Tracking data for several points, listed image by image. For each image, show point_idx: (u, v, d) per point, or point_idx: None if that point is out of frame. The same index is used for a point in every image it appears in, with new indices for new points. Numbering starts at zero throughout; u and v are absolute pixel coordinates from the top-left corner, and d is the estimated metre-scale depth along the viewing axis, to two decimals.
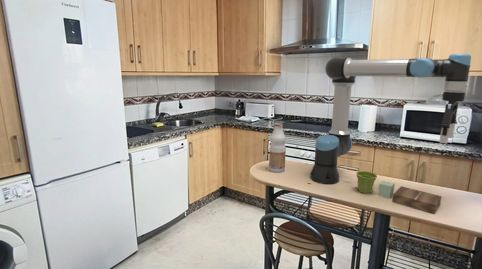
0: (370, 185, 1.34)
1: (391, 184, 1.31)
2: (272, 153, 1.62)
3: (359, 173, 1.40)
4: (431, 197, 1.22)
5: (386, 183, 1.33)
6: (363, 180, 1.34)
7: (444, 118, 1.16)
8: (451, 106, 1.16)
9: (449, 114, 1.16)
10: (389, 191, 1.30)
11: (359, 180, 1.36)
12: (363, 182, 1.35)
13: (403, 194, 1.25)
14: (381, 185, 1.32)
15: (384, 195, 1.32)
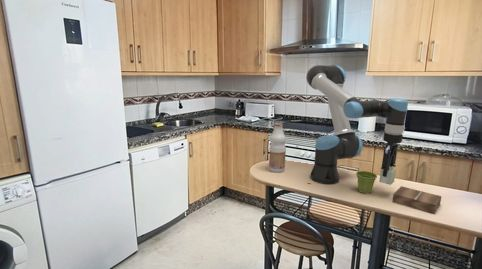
0: (370, 185, 1.34)
1: (392, 170, 1.30)
2: (272, 153, 1.62)
3: (359, 173, 1.40)
4: (431, 197, 1.22)
5: None
6: (363, 180, 1.34)
7: (383, 162, 1.26)
8: (388, 151, 1.24)
9: (387, 158, 1.25)
10: (390, 177, 1.29)
11: (359, 180, 1.36)
12: (363, 182, 1.35)
13: (403, 194, 1.25)
14: None
15: None
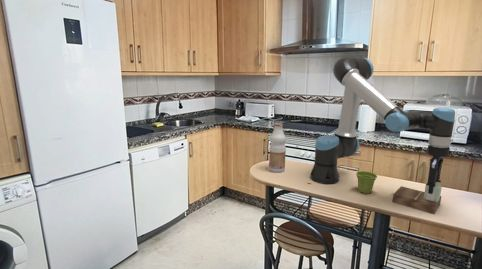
0: (370, 185, 1.34)
1: (438, 186, 1.19)
2: (272, 153, 1.62)
3: (359, 173, 1.40)
4: None
5: None
6: (363, 180, 1.34)
7: (429, 177, 1.15)
8: (435, 166, 1.13)
9: (434, 174, 1.14)
10: (437, 194, 1.17)
11: (359, 180, 1.36)
12: (363, 182, 1.35)
13: (403, 194, 1.25)
14: (427, 187, 1.19)
15: None
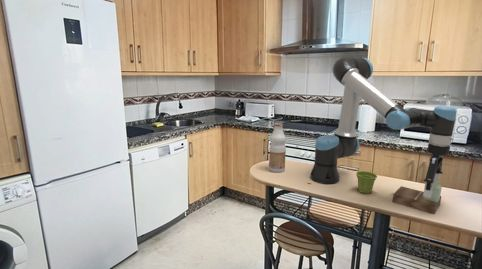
0: (370, 185, 1.34)
1: (439, 186, 1.19)
2: (272, 153, 1.62)
3: (359, 173, 1.40)
4: None
5: (433, 185, 1.20)
6: (363, 180, 1.34)
7: (428, 173, 1.13)
8: (435, 161, 1.12)
9: (433, 169, 1.12)
10: (437, 194, 1.17)
11: (359, 180, 1.36)
12: (363, 182, 1.35)
13: (403, 194, 1.25)
14: None
15: (431, 198, 1.19)
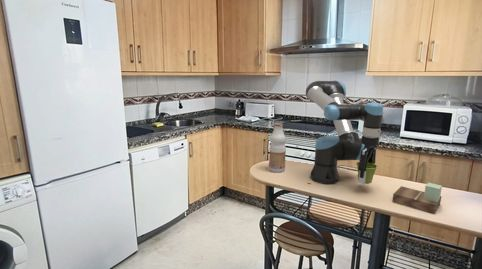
0: (370, 175, 1.34)
1: (439, 186, 1.19)
2: (272, 153, 1.62)
3: None
4: None
5: (433, 185, 1.20)
6: None
7: (360, 163, 1.31)
8: (365, 153, 1.29)
9: (363, 160, 1.30)
10: (437, 194, 1.17)
11: None
12: None
13: (403, 194, 1.25)
14: (427, 187, 1.19)
15: (431, 198, 1.19)
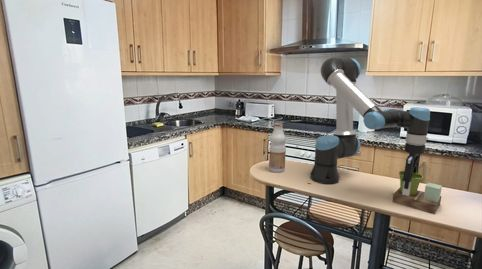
0: (415, 186, 1.23)
1: (439, 186, 1.19)
2: (272, 153, 1.62)
3: (401, 173, 1.29)
4: None
5: (433, 185, 1.20)
6: None
7: (405, 173, 1.20)
8: (411, 162, 1.18)
9: (409, 169, 1.19)
10: (437, 194, 1.17)
11: (403, 181, 1.25)
12: None
13: None
14: (427, 187, 1.19)
15: (431, 198, 1.19)
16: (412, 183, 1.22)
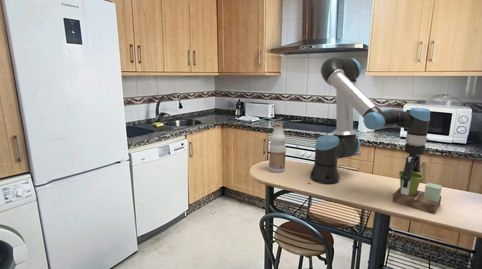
0: (415, 186, 1.23)
1: (439, 186, 1.19)
2: (272, 153, 1.62)
3: (401, 173, 1.29)
4: None
5: (433, 185, 1.20)
6: None
7: (404, 171, 1.19)
8: (411, 160, 1.18)
9: (409, 167, 1.18)
10: (437, 194, 1.17)
11: None
12: None
13: (403, 194, 1.25)
14: (427, 187, 1.19)
15: (431, 198, 1.19)
16: (412, 183, 1.22)
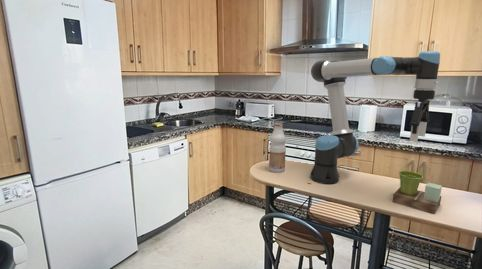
0: (415, 186, 1.23)
1: (439, 186, 1.19)
2: (272, 153, 1.62)
3: (401, 173, 1.29)
4: None
5: (433, 185, 1.20)
6: (408, 181, 1.23)
7: (413, 116, 1.16)
8: (420, 104, 1.15)
9: (418, 112, 1.15)
10: (437, 194, 1.17)
11: (403, 181, 1.25)
12: (407, 183, 1.23)
13: (403, 194, 1.25)
14: (427, 187, 1.19)
15: (431, 198, 1.19)
16: (412, 183, 1.22)
